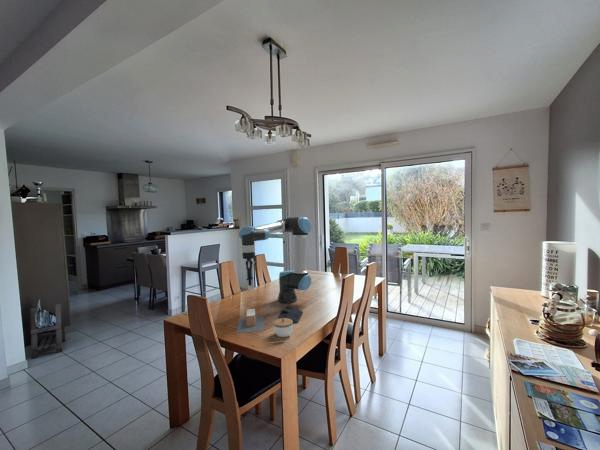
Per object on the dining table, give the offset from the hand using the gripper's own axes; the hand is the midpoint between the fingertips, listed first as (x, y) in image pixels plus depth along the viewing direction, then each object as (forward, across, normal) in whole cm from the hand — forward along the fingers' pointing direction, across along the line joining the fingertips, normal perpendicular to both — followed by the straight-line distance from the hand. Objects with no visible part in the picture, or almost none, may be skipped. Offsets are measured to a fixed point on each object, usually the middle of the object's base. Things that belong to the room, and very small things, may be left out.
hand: (250, 290), depth 165 cm
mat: (+21, +1, 0) cm, 21 cm away
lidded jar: (+21, +20, +18) cm, 34 cm away
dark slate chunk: (+22, -6, +24) cm, 33 cm away
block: (+18, +4, 0) cm, 18 cm away
